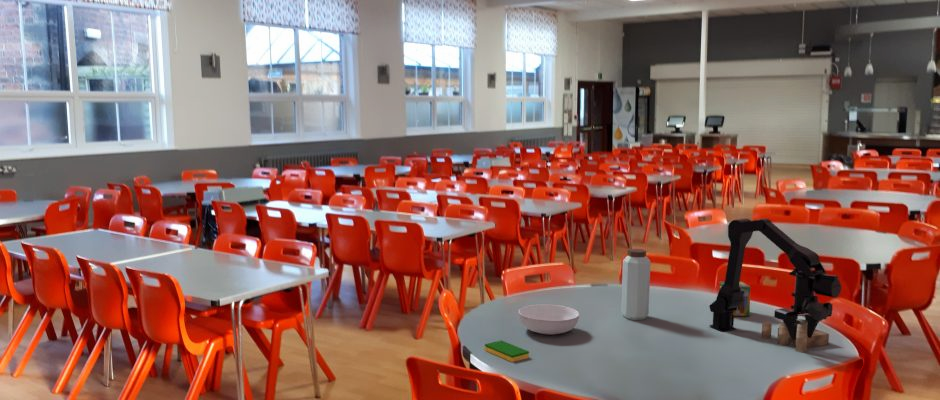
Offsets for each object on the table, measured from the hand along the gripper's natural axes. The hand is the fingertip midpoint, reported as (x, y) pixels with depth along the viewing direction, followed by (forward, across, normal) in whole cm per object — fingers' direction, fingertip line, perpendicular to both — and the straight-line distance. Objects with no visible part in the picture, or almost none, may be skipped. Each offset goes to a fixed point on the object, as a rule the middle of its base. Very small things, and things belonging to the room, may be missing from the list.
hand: (801, 338), depth 238 cm
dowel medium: (+4, 0, +8) cm, 8 cm away
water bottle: (+4, -28, +52) cm, 59 cm away
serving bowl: (+4, -66, +48) cm, 81 cm away
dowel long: (+4, 0, 0) cm, 4 cm away
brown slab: (+4, +8, +8) cm, 12 cm away
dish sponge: (+5, -90, +31) cm, 95 cm away
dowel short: (+4, 0, +15) cm, 16 cm away
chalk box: (+4, +10, +42) cm, 44 cm away
